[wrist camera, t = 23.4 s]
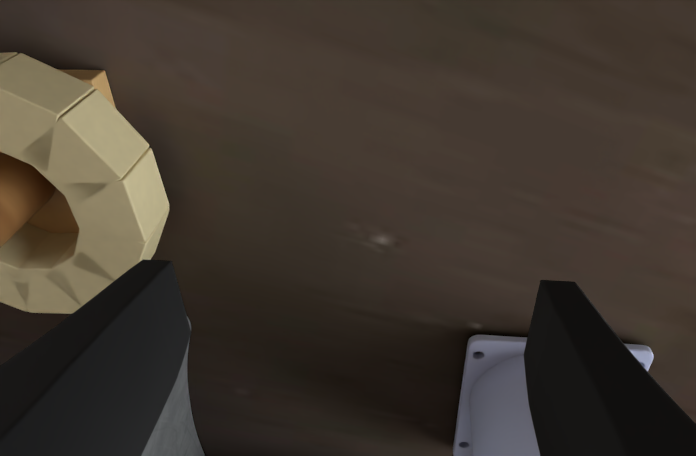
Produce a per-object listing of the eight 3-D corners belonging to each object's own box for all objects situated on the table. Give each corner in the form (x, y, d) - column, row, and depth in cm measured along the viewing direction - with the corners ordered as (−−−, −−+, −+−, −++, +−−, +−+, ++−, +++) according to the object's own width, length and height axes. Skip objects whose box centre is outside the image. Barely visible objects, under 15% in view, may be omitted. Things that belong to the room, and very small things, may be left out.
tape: (193, 277, 24) (172, 316, 22) (-15, 274, 25) (-51, 311, 24) (120, 46, 18) (84, 72, 16) (-143, 58, 20) (-205, 83, 18)
